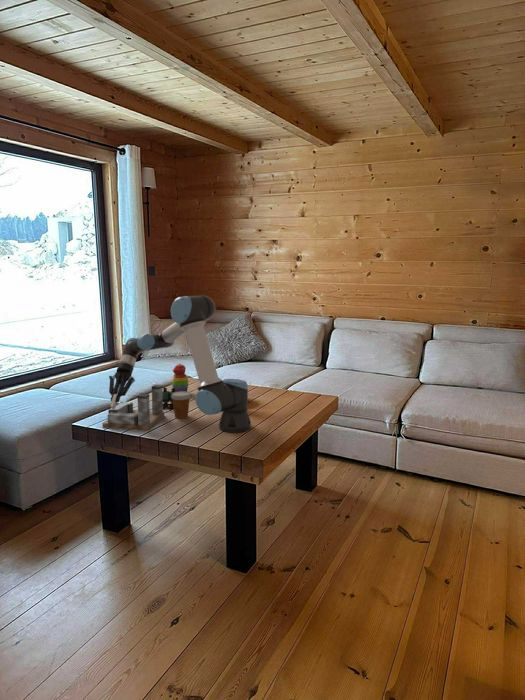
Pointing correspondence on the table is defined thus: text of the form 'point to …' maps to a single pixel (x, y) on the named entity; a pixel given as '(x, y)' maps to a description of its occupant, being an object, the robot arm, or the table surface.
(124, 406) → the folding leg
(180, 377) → the stacking bear
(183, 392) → the disposable coffee cup
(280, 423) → the table surface
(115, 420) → the grey block structure
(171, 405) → the binoculars
